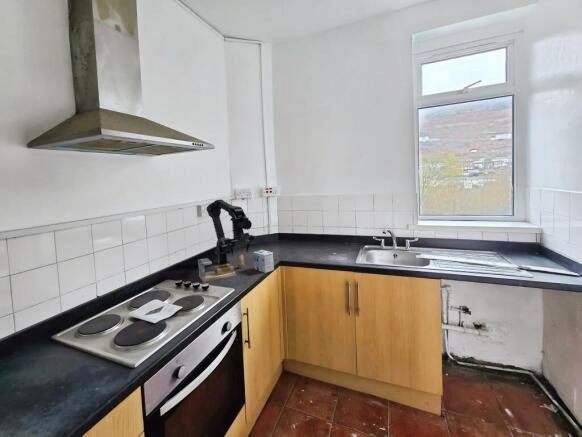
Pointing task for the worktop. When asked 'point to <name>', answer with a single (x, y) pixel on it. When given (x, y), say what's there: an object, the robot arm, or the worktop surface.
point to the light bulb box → (263, 261)
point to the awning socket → (218, 272)
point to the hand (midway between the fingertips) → (239, 253)
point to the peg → (240, 261)
